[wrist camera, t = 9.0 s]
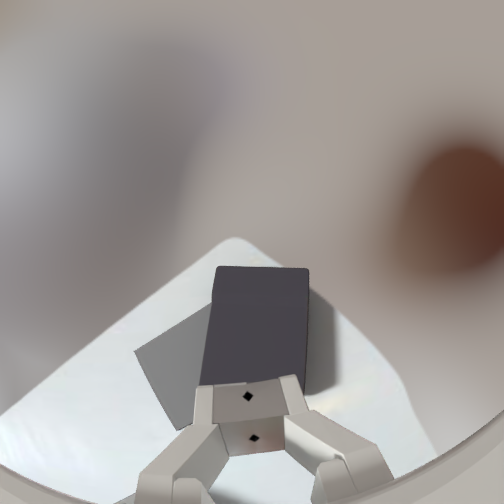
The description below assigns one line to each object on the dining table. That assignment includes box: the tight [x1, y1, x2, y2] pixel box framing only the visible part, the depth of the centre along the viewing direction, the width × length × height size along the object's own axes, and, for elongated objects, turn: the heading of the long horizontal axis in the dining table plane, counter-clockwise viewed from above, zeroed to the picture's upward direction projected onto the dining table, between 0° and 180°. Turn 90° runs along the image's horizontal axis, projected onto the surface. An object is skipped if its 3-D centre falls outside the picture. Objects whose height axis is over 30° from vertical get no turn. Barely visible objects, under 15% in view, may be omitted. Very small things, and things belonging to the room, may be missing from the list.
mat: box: [134, 302, 212, 431], centre depth 31 cm, size 12×18×1 cm, turn 124°
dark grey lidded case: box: [199, 266, 309, 395], centre depth 30 cm, size 11×4×15 cm
